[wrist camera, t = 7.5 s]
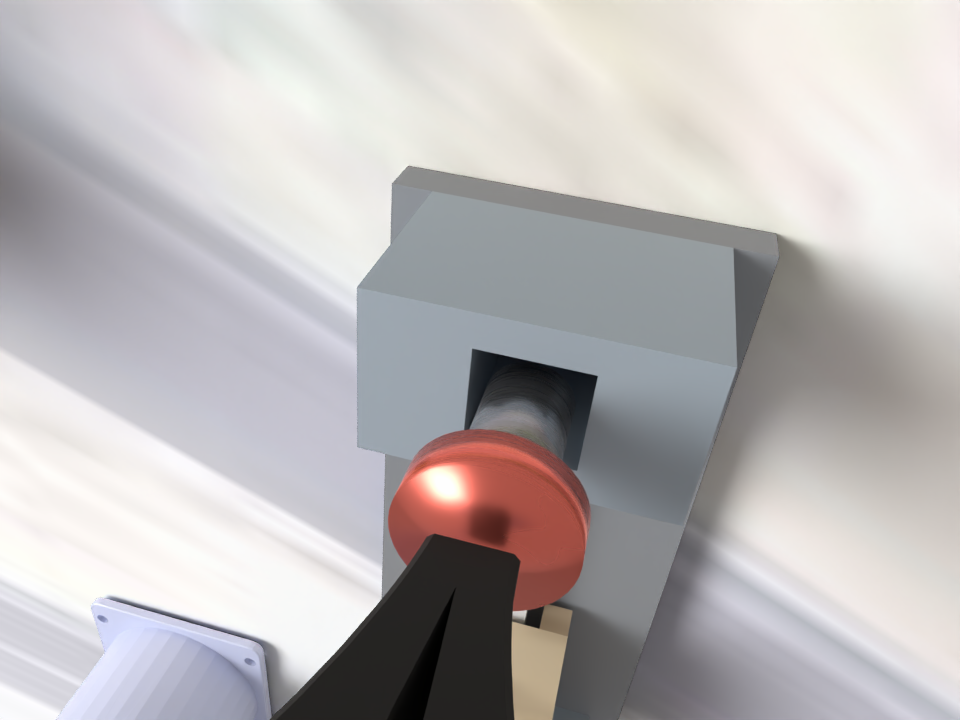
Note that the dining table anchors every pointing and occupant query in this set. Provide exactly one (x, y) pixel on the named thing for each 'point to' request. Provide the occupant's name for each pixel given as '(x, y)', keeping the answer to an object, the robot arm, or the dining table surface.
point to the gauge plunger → (504, 485)
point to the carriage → (538, 663)
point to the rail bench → (565, 373)
